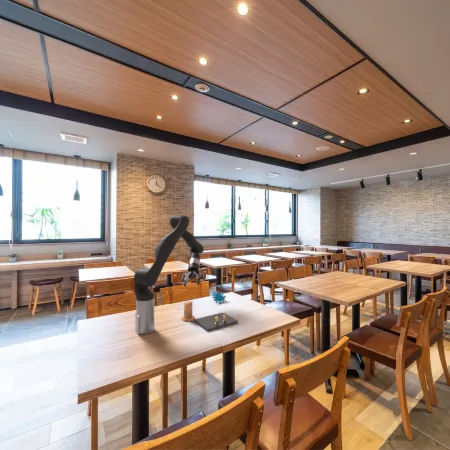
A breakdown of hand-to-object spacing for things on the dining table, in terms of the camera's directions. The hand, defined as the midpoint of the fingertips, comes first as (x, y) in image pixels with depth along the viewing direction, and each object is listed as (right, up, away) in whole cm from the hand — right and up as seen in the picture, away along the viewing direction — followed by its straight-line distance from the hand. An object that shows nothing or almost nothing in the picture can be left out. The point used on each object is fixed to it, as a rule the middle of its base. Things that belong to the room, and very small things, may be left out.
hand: (191, 284), depth 153 cm
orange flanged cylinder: (-1, -19, -7) cm, 20 cm away
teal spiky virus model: (+17, -19, +24) cm, 35 cm away
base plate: (+16, -19, -13) cm, 28 cm away
